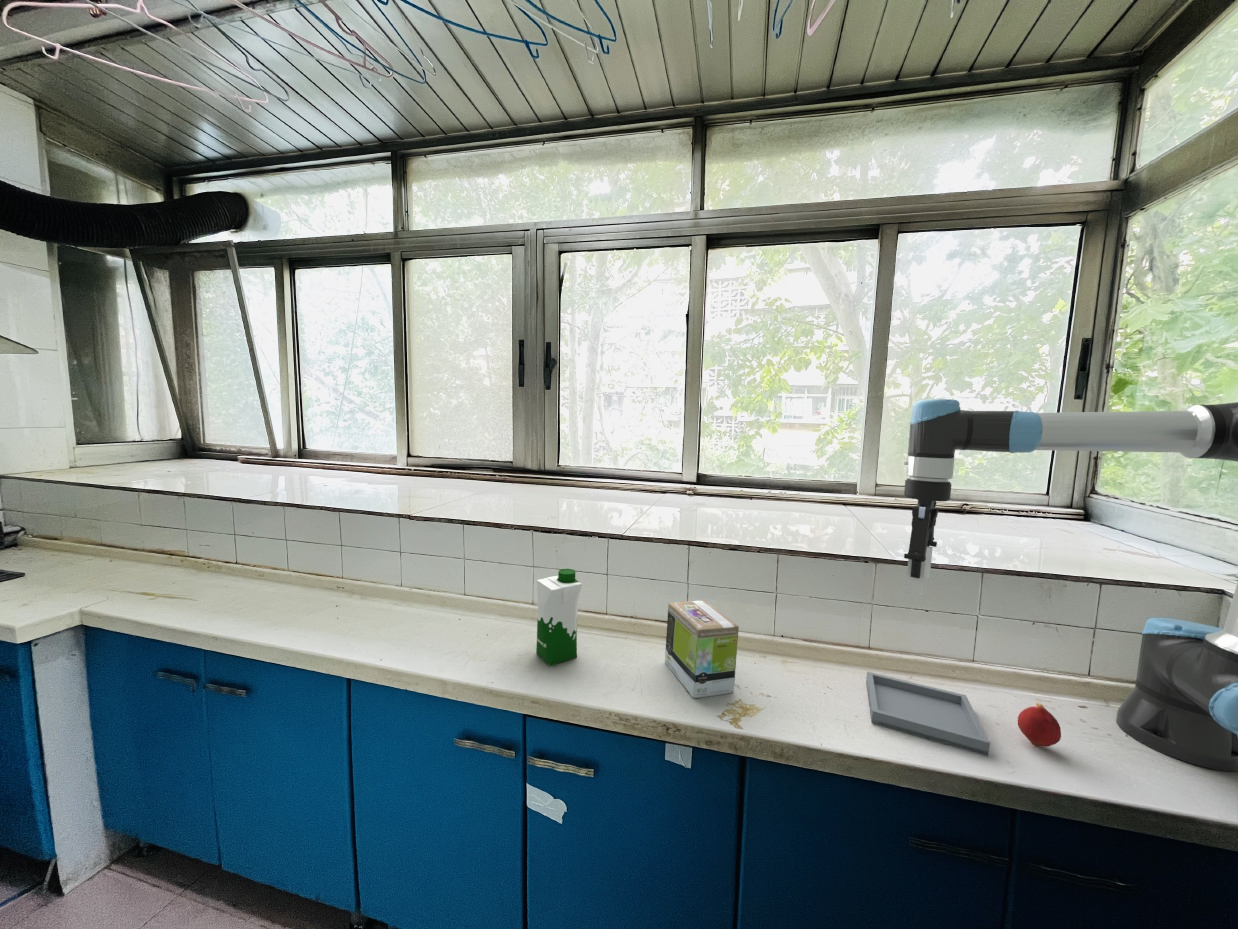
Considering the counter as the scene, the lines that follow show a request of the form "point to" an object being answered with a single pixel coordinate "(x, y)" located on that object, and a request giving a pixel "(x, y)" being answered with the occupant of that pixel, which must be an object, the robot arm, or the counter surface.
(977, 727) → the tray
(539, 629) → the milk carton
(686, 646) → the tea box
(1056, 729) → the onion
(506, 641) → the counter surface
